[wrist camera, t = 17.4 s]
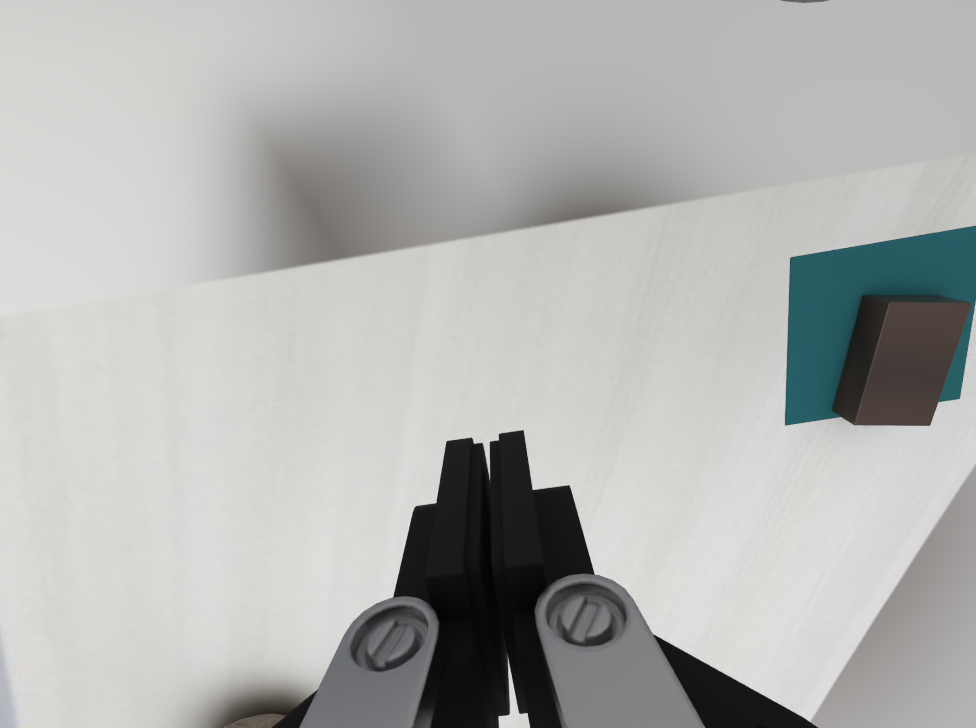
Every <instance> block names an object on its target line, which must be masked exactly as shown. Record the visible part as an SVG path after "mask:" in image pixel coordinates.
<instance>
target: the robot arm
mask: <svg viewBox="0 0 976 728" xmlns="http://www.w3.org/2000/svg"><path fill="white" fill-rule="evenodd" d="M507 654H508V655H507ZM508 659H509V664H510V669H511V674H512V679H513V684H514V689H515V694H516V700H517V705H518V710H519V713H520V714H523V713H528V718H529V723H530V728H818V727H816V726H815V725H813V724H812V723H810V722H809V721H808V720H806V719H805V718H803V717H801V716H799V715H798V714H796V713H794V712H792V711H790V710H789V709H787V708H785V707H783V706H781V705H780V704H778V703H776V702H774V701H772V700H771V699H769V698H767V697H765V696H763V695H762V694H760V693H758V692H756V691H754V690H753V689H751V688H749V687H747V686H745V685H744V684H742V683H740V682H738V681H736V680H735V679H733V678H731V677H729V676H727V675H726V674H724V673H722V672H720V671H718V670H717V669H715V668H713V667H711V666H709V665H708V664H706V663H704V662H702V661H700V660H699V659H697V658H695V657H693V656H691V655H690V654H688V653H686V652H684V651H682V650H681V649H679V648H677V647H675V646H673V645H672V644H670V643H668V642H666V641H664V640H663V639H661V638H659V637H657V636H655V635H654V634H652V632H651V630H650V628H649V627H648V625H647V623H646V621H645V619H644V618H643V616H642V614H641V612H640V611H639V609H638V607H637V605H636V603H635V602H634V600H633V598H632V597H631V596H630V595H629V593H628V592H627V591H626V590H625V588H623V587H622V586H620V585H619V584H617V583H616V582H614V581H613V580H611V579H608V578H605V577H602V576H600V575H595V574H594V570H593V567H592V563H591V560H590V556H589V553H588V549H587V545H586V542H585V538H584V535H583V531H582V527H581V524H580V520H579V517H578V513H577V510H576V506H575V502H574V499H573V495H572V492H571V488H570V486H569V485H567V486H560V487H553V488H545V489H538V490H532V483H531V477H530V470H529V463H528V457H527V450H526V443H525V437H524V430H522V431H515V432H508V433H501V434H499V441H491V442H490V479H489V473H488V468H487V462H486V457H485V451H484V446H483V443H477V444H474V442H473V439H472V438H466V439H459V440H452V441H447V442H446V447H445V454H444V460H443V466H442V472H441V478H440V484H439V490H438V497H437V503H435V504H428V505H421V506H416V507H415V508H414V511H413V514H412V519H411V523H410V527H409V532H408V536H407V540H406V545H405V549H404V553H403V558H402V562H401V566H400V571H399V575H398V579H397V584H396V588H395V592H394V597H393V598H390V599H387V600H384V601H382V602H379V603H377V604H375V605H373V606H372V607H370V608H369V609H367V610H365V611H364V612H363V613H362V614H361V615H360V616H359V617H357V618H356V619H355V620H354V621H353V622H352V624H351V625H350V627H349V628H348V630H347V631H346V633H345V634H344V636H343V638H342V641H341V643H340V645H339V647H338V649H337V651H336V653H335V655H334V657H333V659H332V661H331V663H330V665H329V667H328V670H327V672H326V674H325V676H324V678H323V680H322V682H321V684H320V686H319V688H318V690H316V691H315V692H314V693H313V694H312V695H310V696H309V697H308V698H307V699H306V700H304V701H303V702H302V703H301V704H300V705H298V706H297V707H296V708H295V709H294V710H292V711H291V712H290V713H289V714H288V715H286V716H285V717H284V718H283V719H282V720H280V721H279V722H278V723H277V724H276V725H274V726H273V727H272V728H499V719H498V716H505V715H509V714H510V702H509V679H508Z"/></svg>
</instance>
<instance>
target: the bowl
mask: <svg viewBox="0 0 976 728" xmlns="http://www.w3.org/2000/svg"><path fill="white" fill-rule="evenodd" d="M285 716H286V715H281V714H273V713H270V714H261V715H256V716H252V717H248V718H243V719H239V720H237V721H235V722H233V723H231V724H229V725H227V726H225V727H223V728H272V727H273V726H274V725H276V724H277V723H278V722H279V721H280V720H282V719H283V718H284V717H285Z"/></svg>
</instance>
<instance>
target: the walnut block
mask: <svg viewBox="0 0 976 728" xmlns="http://www.w3.org/2000/svg"><path fill="white" fill-rule="evenodd" d="M971 305H972V303H970V302H966V301H961V300H957V299H953V298H949V297H944V296H940V295H863V296H862V299H861V303H860V307H859V310H858V314H857V318H856V322H855V326H854V329H853V333H852V337H851V341H850V344H849V348H848V352H847V356H846V359H845V363H844V367H843V371H842V374H841V378H840V382H839V386H838V389H837V393H836V397H835V401H834V404H833V408H832V411H833V412H835V413H836V414H838V415H839V416H841V417H842V418H844V419H845V420H847V421H849V422H850V423H852V424H853V425H897V426H930V425H931V422H932V419H933V416H934V413H935V410H936V407H937V404H938V401H939V398H940V395H941V393H942V390H943V387H944V384H945V381H946V378H947V375H948V372H949V369H950V366H951V363H952V361H953V358H954V355H955V352H956V349H957V346H958V343H959V340H960V337H961V334H962V331H963V329H964V326H965V323H966V320H967V317H968V314H969V311H970V308H971Z"/></svg>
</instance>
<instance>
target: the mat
mask: <svg viewBox="0 0 976 728" xmlns="http://www.w3.org/2000/svg"><path fill="white" fill-rule="evenodd" d="M863 295H940V296H944V297H949V298H953V299H957V300H961V301H966V302H970V303H972V305H971V308H970V311H969V314H968V317H967V320H966V323H965V326H964V329H963V331H962V334H961V337H960V340H959V343H958V346H957V349H956V352H955V355H954V358H953V361H952V363H951V366H950V369H949V372H948V375H947V378H946V381H945V384H944V387H943V390H942V393H941V395H940V398H939V401H938V402H942V401H949V400H955V399H960V394H961V388H962V382H963V376H964V369H965V363H966V357H967V351H968V345H969V338H970V332H971V326H972V320H973V314H974V307H975V301H976V226H972V227H966V228H961V229H955V230H949V231H943V232H937V233H931V234H926V235H920V236H914V237H908V238H902V239H896V240H891V241H885V242H879V243H873V244H867V245H861V246H856V247H850V248H844V249H838V250H832V251H826V252H820V253H815V254H809V255H803V256H797V257H791V258H790V285H789V316H788V347H787V379H786V410H785V425H791V424H798V423H804V422H811V421H817V420H824V419H830V418H837V417H841V416H839V415H838V414H836V413H835V412H833V411H832V408H833V404H834V401H835V397H836V393H837V389H838V386H839V382H840V378H841V374H842V371H843V367H844V363H845V359H846V356H847V352H848V348H849V344H850V341H851V337H852V333H853V329H854V326H855V322H856V318H857V314H858V310H859V307H860V303H861V299H862V296H863Z"/></svg>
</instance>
